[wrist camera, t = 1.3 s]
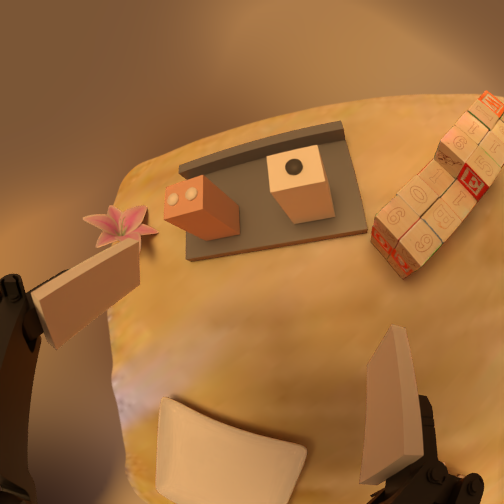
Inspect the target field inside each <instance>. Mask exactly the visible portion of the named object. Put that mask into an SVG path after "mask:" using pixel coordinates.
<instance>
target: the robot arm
mask: <svg viewBox="0 0 504 504" xmlns="http://www.w3.org/2000/svg"><path fill="white" fill-rule="evenodd" d="M139 285H140V269H139V241H137V240H134V239H132V238H127V239H125V240H123V241H121V242H119V243H117V244H115V245H113V246H111V247H110V248H108V249H106V250H104V251H102V252H100V253H98V254H97V255H95V256H93V257H91V258H89V259H87V260H86V261H84V262H82V263H80V264H78V265H77V266H75V267H73V268H71V269H67V270H64V271H62V272H60V273H59V274H57V275H56V276H55V277H52V278H50V279H49V280H47V281H45V282H43V283H42V284H40V285H38V286H37V287H35V288H33V289H32V290H30V291H29V292H27V293H25V290H24V286H23V282H22V279H21V276H20V275H18V274H9V275H6V276H4V277H3V278H1V279H0V486H1V487H2V491H0V504H37V497H36V488H35V484H34V481H33V479H32V477H31V475H30V473H29V471H28V461H27V446H28V445H27V444H28V422H29V411H30V401H31V393H32V386H33V380H34V374H35V368H36V363H37V358H38V353H39V349H40V344H41V336H40V335H41V334H42V333H43V332H44V334H45V337H46V339H47V342H48V343H49V344H50V345H51V346H53V347H54V348H55V349H56V350H57V349H58V348H60V347H61V346H62V345H63V344H65V343H66V342H67V341H68V340H69V339H70V338H72V337H73V336H74V335H75V334H77V333H78V332H79V331H81V330H82V329H83V328H84V327H86V326H87V325H88V324H89V323H91V322H92V321H93V320H94V319H96V318H97V317H98V316H100V315H101V314H102V313H103V312H105V311H106V310H107V309H109V308H110V307H111V306H112V305H114V304H115V303H116V302H118V301H119V300H120V299H122V298H123V297H124V296H126V295H127V294H128V293H129V292H131V291H132V290H133V289H135V288H136V287H137V286H139ZM385 480H386V485H385V488H383V489H381V490H379V491H377V492H375V493H374V494H372V495H370V496H371V497H373V498H372V499H371V500H370V501H369V502H368V503H367V504H480V501H481V498H482V495H483V491H484V482H483V479H482V477H481V476H480V475H479V474H477V473H471V474H469V475H467V476H465V477H464V478H459V477H456V476H453V475H450V474H448V471H447V468H446V466H445V465H444V464H443V463H442V462H440V461H439V460H438V457H437V445H436V434H435V428H434V419H433V411H432V406H431V404H430V402H429V400H428V398H427V396H423V395H418V390H417V384H416V378H415V372H414V366H413V361H412V356H411V351H410V346H409V342H408V337H407V333H406V329H405V328H404V327H401V326H397V325H394V324H391V326H390V328H389V329H388V331H387V333H386V335H385V336H384V338H383V340H382V341H381V343H380V345H379V346H378V348H377V350H376V351H375V353H374V355H373V356H372V358H371V359H370V361H369V362H368V364H367V403H366V423H365V437H364V448H363V458H362V466H361V474H360V481H359V484H368V485H378V484H380V483H382V482H383V481H385Z"/></svg>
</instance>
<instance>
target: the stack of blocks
mask: <svg viewBox="0 0 504 504" xmlns="http://www.w3.org/2000/svg"><path fill="white" fill-rule="evenodd" d="M503 165H504V104H503V103H502V102H500V101H499V100H498V99H497V98H496V97H494V96H493V95H492V94H491V93H489V92H488V91H486V90H485V92H484V93H483V94H482V95H481V96H480V97H479V98H478V99H477V100H476V101H475V102H474V103H473V104H472V105H471V107H470V108H469V109H468V111H466V112H465V113H464V114H463V115H462V116H461V117H460V118H459V119H458V121H457V122H456V123H455V125H454V126H453V127H452V128H451V129H450V130H449V131H448V132H447V133H446V134H445V136H444V137H443V138H442V139H441V140H440V143H439V145H438V148H437V151H436V153H435V156H434V158H433V159H432V160H431V161H430V162H429V163H428V164H427V165H426V166H425V167H424V168H423V169H422V170H421V171H420V172H419V173H418V174H417V175H415V176H414V177H413V178H412V179H411V180H410V181H409V182H408V183H407V184H406V185H405V186H404V187H402V188H401V189H400V190H399V191H398V192H397V194H396V196H395V197H394V198H393V199H392V200H391V201H390V202H389V203H388V204H386V205H385V206H384V207H383V208H382V209H381V210H380V211H379V212H378V213H377V214H376V215H375V219H374V225H373V226H372V233H371V234H372V235H371V243H372V244H373V245H374V246H375V247H376V248H377V249H378V250H379V252H380V253H381V254H382V255H383V256H384V257H385V259H386V260H387V261H388V262H389V264H390V265H391V266H392V267H393V269H394V270H395V271H396V272H397V273H398V274H399V276H400V277H401V278H402V279H404V278H406V277H407V276H408V275H410V274H411V273H412V272H415V271H417V270H418V269H419V268H421V267H422V266H423V265H424V264H425V263H426V262H427V260H428V259H429V258H430V257H431V256H432V255H433V254H434V253H435V252H436V251H437V250H438V249H439V247H440V246H441V245H442V244H443V243H444V242H445V241H446V240H447V239H448V238H449V237H450V236H451V234H452V233H453V232H454V231H455V230H456V228H457V227H458V226H459V225H460V224H461V222H462V221H463V220H464V219H465V218H466V216H467V215H468V214H469V212H470V211H471V210H472V208H473V207H474V206H475V204H476V203H477V202H478V201H479V200H480V199H481V197H482V196H483V195H484V194H485V192H486V191H487V190H488V189H489V187H490V186H491V184H492V183H493V181H494V180H495V178H496V177H497V175H498V174H499V172H500V170H501V168H502V167H503Z"/></svg>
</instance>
